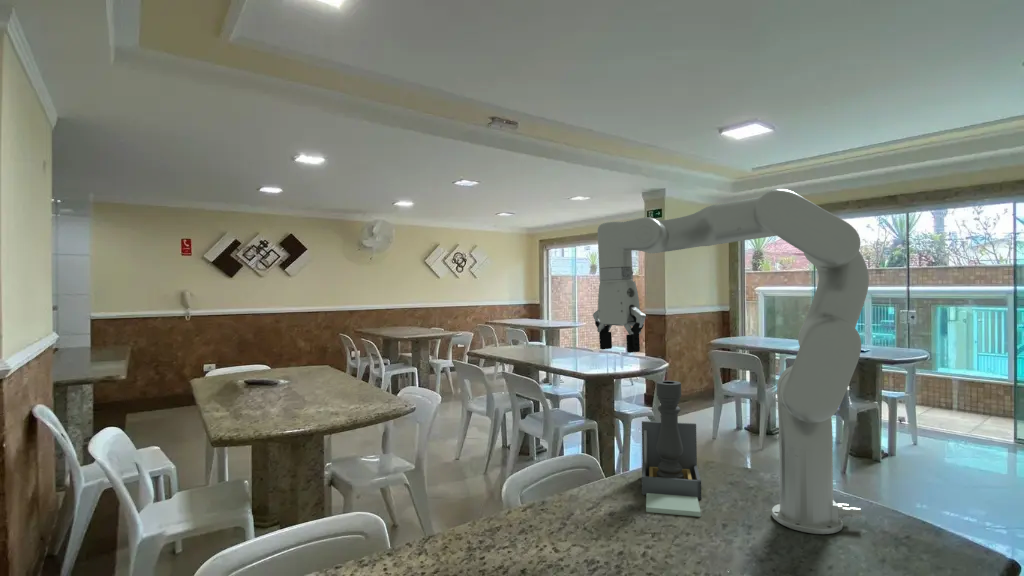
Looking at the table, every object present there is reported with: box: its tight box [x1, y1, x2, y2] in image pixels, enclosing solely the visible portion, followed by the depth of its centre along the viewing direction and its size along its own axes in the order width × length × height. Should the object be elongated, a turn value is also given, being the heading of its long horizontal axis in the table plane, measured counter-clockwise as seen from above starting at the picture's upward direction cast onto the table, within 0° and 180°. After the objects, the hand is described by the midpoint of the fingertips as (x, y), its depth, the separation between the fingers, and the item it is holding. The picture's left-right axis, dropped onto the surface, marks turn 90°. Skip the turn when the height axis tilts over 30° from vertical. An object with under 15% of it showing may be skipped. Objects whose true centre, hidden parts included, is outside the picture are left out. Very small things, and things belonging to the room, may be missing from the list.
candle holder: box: [655, 380, 684, 479], centre depth 127 cm, size 6×6×25 cm
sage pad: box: [645, 493, 702, 518], centre depth 116 cm, size 11×8×1 cm
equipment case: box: [641, 420, 702, 500], centre depth 127 cm, size 13×12×14 cm
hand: (619, 350), depth 122 cm, fingers open, 9 cm apart
